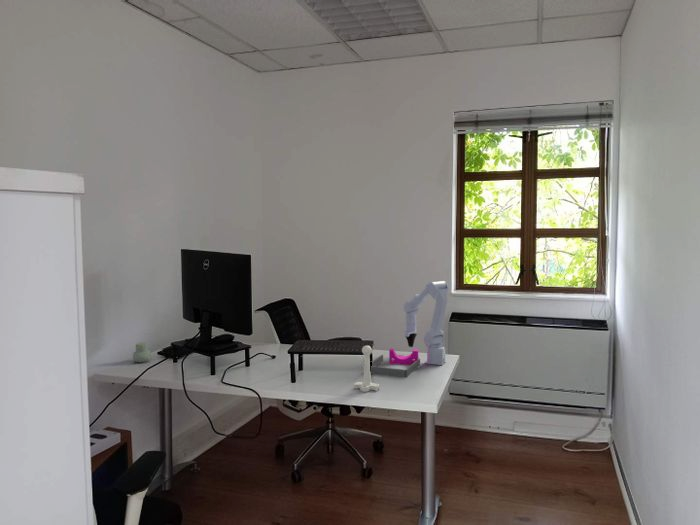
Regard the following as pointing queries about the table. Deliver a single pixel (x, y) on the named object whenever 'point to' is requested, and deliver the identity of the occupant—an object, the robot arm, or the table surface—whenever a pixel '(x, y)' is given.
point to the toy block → (403, 358)
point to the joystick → (366, 373)
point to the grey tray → (391, 370)
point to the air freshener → (141, 353)
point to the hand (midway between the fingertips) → (410, 346)
